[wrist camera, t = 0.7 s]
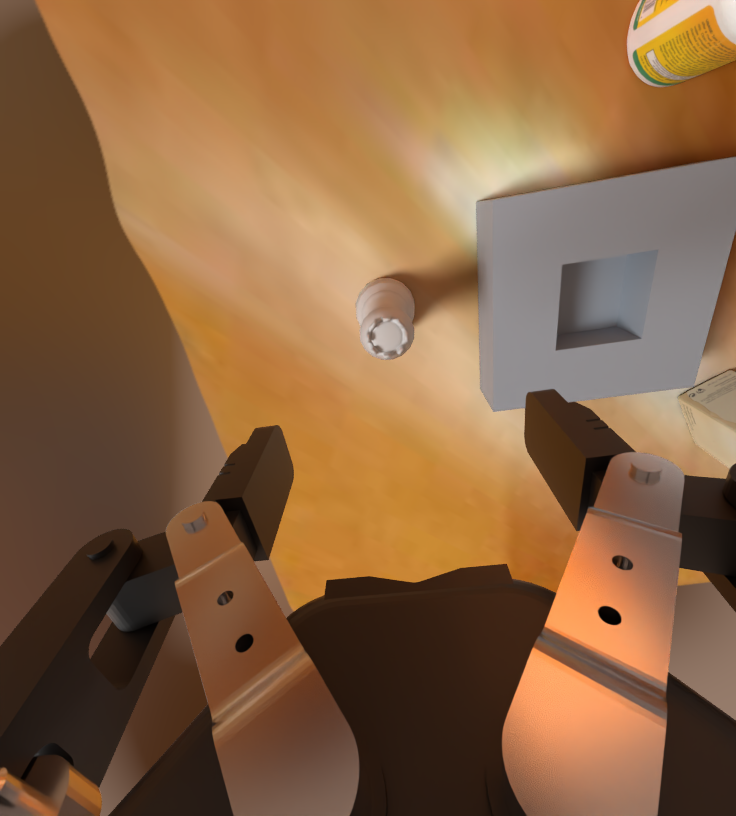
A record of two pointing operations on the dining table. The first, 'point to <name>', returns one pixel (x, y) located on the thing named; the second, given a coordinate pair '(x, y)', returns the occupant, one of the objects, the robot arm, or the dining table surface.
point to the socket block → (602, 283)
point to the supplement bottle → (680, 39)
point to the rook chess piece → (385, 318)
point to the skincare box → (713, 416)
